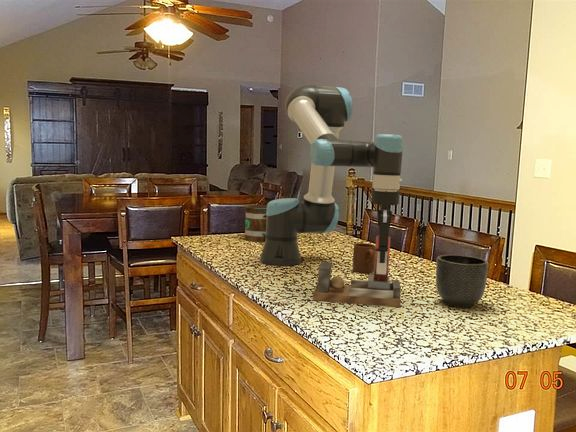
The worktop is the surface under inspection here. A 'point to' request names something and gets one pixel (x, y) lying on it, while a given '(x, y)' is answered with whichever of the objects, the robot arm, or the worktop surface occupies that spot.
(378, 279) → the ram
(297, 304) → the worktop surface
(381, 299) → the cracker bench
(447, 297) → the planter
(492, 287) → the worktop surface
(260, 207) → the mug
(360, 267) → the mug
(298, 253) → the robot arm
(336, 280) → the walnut
